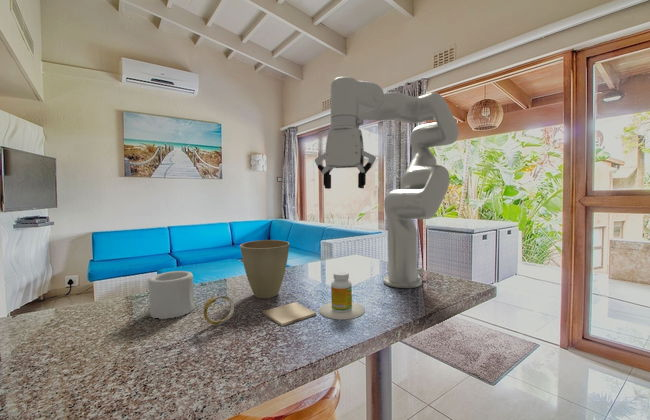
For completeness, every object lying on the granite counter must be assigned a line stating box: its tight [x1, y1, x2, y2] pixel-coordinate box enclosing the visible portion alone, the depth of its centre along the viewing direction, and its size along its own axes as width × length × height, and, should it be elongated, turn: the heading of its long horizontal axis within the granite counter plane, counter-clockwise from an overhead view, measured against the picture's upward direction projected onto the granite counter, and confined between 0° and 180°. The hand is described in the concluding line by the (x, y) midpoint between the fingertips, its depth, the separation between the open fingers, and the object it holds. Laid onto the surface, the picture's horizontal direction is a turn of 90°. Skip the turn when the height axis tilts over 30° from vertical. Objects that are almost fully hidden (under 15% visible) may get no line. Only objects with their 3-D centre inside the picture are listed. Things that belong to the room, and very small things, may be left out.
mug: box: [147, 270, 195, 320], centre depth 83 cm, size 14×11×10 cm
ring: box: [202, 290, 235, 326], centre depth 73 cm, size 7×3×8 cm, turn 115°
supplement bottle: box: [330, 270, 353, 313], centre depth 81 cm, size 5×5×10 cm
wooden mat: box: [262, 301, 317, 327], centre depth 79 cm, size 10×10×1 cm
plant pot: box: [239, 239, 290, 299], centre depth 94 cm, size 15×15×16 cm
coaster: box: [318, 301, 366, 321], centre depth 81 cm, size 12×12×1 cm
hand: (344, 188), depth 84 cm, fingers open, 9 cm apart
